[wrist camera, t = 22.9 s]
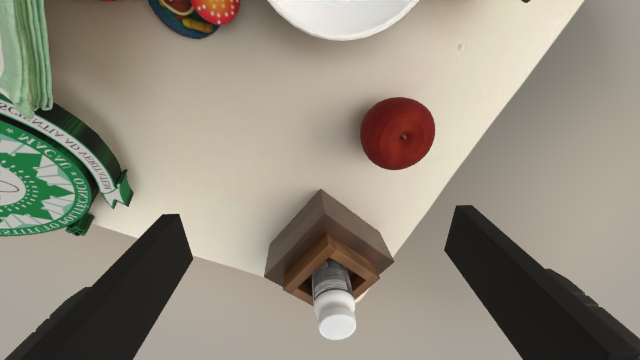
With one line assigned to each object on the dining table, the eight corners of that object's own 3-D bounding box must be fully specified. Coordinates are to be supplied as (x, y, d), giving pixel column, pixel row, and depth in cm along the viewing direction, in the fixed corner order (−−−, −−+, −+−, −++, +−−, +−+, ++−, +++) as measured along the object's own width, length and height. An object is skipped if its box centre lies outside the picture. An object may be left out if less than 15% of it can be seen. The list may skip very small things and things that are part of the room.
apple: (424, 118, 38) (463, 133, 29) (383, 165, 41) (407, 191, 32) (381, 80, 35) (408, 82, 26) (340, 132, 38) (352, 151, 29)
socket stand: (269, 244, 46) (260, 292, 36) (320, 188, 42) (326, 225, 32) (328, 279, 51) (335, 330, 41) (379, 232, 47) (401, 276, 37)
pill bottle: (343, 282, 40) (355, 343, 31) (309, 281, 40) (312, 343, 31) (349, 255, 38) (364, 312, 29) (313, 254, 37) (317, 311, 28)
